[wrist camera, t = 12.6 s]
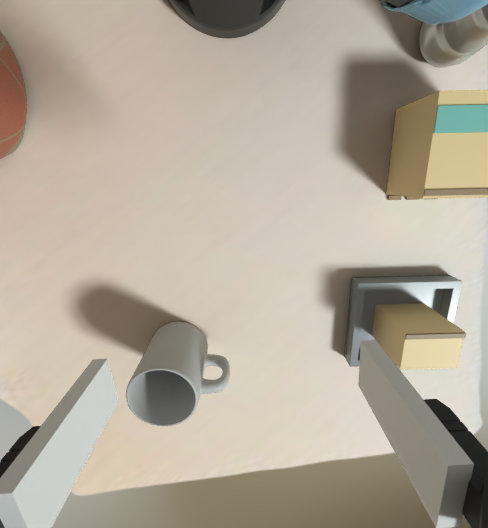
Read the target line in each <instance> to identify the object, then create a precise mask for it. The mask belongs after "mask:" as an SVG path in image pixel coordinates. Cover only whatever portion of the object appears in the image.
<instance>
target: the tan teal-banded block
mask: <svg viewBox="0 0 488 528" xmlns="http://www.w3.org/2000/svg"><path fill="white" fill-rule="evenodd" d="M386 194H390V195H398V196H388V200H401V196H405V197H406V199H407V200H411V199H419V198H421V199H438V198H481V197H488V90H456V91H438V92H436V93H433V94H431V95H428V96H426V97H424V98H421V99H419V100H417V101H414V102H412V103H409V104H407V105H405V106H402V107H400V108H398V109H396V115H395V124H394V132H393V141H392V149H391V157H390V166H389V174H388V182H387V191H386Z"/></svg>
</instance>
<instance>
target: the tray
mask: <svg viewBox="0 0 488 528" xmlns="http://www.w3.org/2000/svg"><path fill="white" fill-rule="evenodd" d="M461 285H462V281H461V280H459V279H457V278H454V277H452V276H450V275H436V276H393V277H352V280H351V291H350V301H349V312H348V323H347V334H346V344H345V355H344V357H345V358H346V360H347V362H348V364H349V365H350V367H352V366H360V348H361V341H367V340H375V339H374V337H373V336H372V330H373V322H374V313H375V305H377V304H418V303H424V304H426V305H427V306H429V307H430V308H431V309H433V310H434V311H436V312H437V313H439V314H440V315H442V316H443V317H444V318H446V319H447V320H449V321H450V322H452V323H454V318H455V314H456V309H457V304H458V300H459V295H460V290H461ZM387 355H388V354H387ZM391 360H392V359H391ZM392 361H393V360H392ZM395 365H396V364H395Z"/></svg>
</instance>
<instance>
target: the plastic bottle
mask: <svg viewBox="0 0 488 528" xmlns="http://www.w3.org/2000/svg"><path fill="white" fill-rule="evenodd" d="M419 43H420V50H421V53H422V55H423V57H424V58H425V60H426V61H427V62H428V63H429V64H431V65H433V66H435V67H440V68H441V67H449V66H453V65H456V64H460V63H462V62H464V61H465V60H467V59H468V58H470V57H471V56H472V55H474V54H475V53H476V52H478V51H479V50H480V49H481V48H483V47H484V46H485V45H487V44H488V4H486V5H485V6H483V7H482V8H480V9H478V10H477V11H475V12H473V13H471V14H469V15H467V16H465V17H463V18H461V19H459V20H456V21H453V22H447V23H439V24H428V23H425V22H423V25H422V27H421V31H420V38H419Z"/></svg>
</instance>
